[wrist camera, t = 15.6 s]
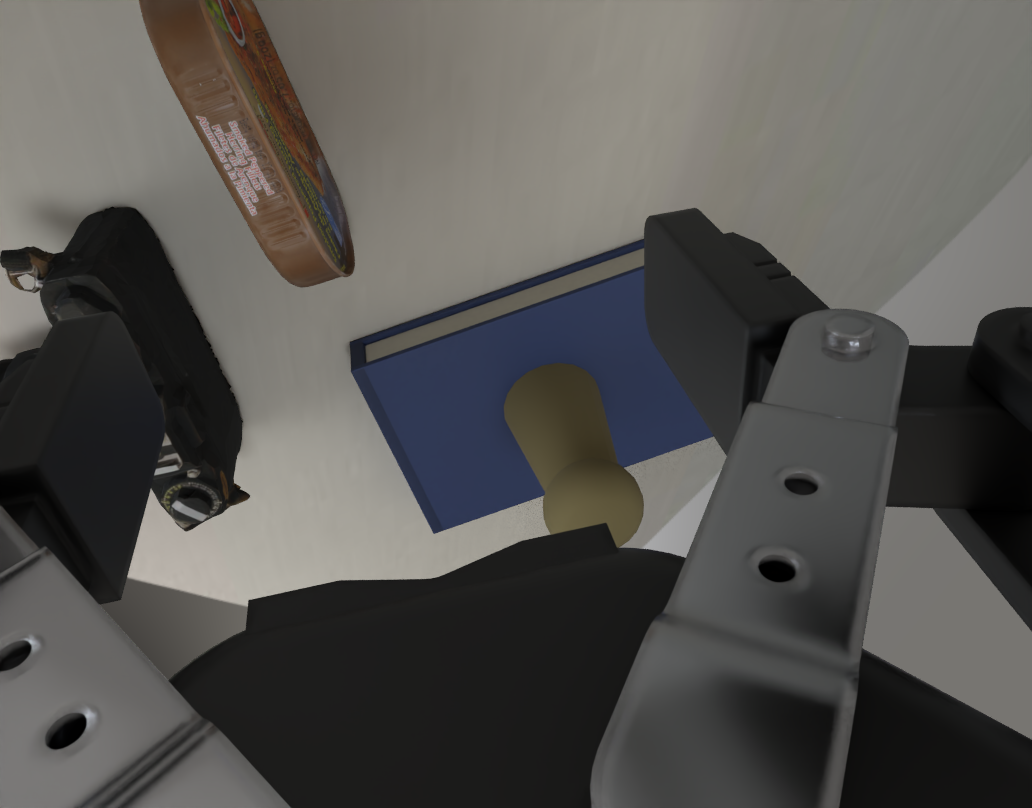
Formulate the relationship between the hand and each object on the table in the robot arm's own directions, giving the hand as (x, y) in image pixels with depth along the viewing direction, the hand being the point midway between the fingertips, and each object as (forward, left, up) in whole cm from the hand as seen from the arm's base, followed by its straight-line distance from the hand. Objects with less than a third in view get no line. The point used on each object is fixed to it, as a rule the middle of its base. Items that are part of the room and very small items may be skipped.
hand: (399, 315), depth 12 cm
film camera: (-16, -16, -30) cm, 38 cm away
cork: (+7, -23, -27) cm, 36 cm away
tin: (-5, -4, -30) cm, 31 cm away
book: (+7, -23, -30) cm, 39 cm away
